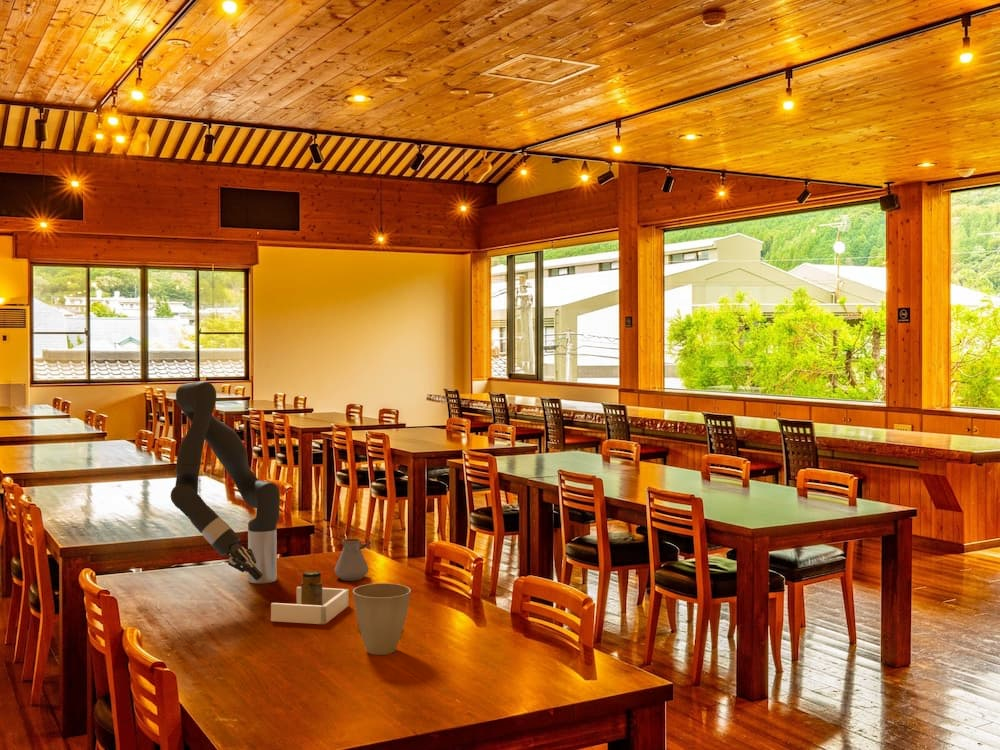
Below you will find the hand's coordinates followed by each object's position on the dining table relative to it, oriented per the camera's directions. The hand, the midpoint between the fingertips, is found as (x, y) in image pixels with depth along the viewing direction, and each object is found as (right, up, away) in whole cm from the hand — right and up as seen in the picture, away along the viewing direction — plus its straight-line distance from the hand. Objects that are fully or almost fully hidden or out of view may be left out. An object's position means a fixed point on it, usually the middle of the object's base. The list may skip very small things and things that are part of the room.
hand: (260, 578), depth 299 cm
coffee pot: (+24, -8, +35) cm, 43 cm away
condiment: (+17, -10, -5) cm, 20 cm away
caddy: (+16, -9, -4) cm, 19 cm away
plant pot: (+41, -11, -39) cm, 58 cm away
